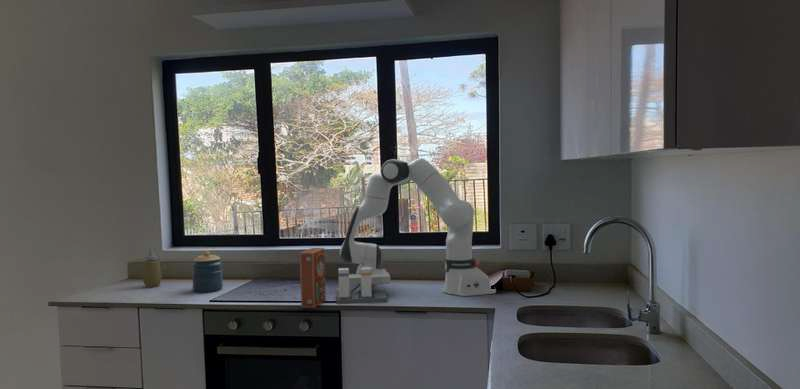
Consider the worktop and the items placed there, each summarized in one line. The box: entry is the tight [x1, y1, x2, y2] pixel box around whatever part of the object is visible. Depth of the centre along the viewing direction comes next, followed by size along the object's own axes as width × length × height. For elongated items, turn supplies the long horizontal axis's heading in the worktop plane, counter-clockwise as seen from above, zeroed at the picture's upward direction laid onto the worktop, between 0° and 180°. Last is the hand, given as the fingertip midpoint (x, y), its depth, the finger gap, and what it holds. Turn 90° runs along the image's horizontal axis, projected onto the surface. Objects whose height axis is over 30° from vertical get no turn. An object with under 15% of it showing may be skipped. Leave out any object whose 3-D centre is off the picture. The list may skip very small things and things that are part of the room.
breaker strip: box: [335, 267, 388, 305], centre depth 199 cm, size 20×14×13 cm
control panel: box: [299, 247, 327, 309], centre depth 192 cm, size 21×7×15 cm
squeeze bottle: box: [142, 248, 163, 288], centre depth 230 cm, size 8×8×18 cm
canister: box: [191, 250, 224, 293], centre depth 221 cm, size 13×13×18 cm
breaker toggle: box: [360, 267, 372, 297], centre depth 196 cm, size 4×4×11 cm
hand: (366, 283), depth 198 cm, fingers closed, pressing on breaker toggle
